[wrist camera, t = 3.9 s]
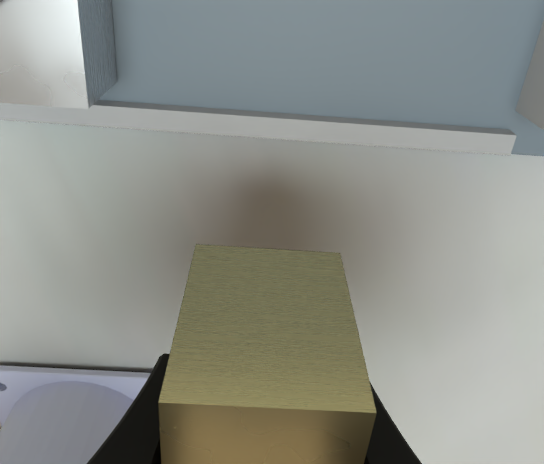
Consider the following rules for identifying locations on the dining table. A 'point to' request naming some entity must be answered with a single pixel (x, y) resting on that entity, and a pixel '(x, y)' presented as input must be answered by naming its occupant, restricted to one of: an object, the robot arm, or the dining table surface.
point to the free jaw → (56, 52)
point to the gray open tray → (326, 73)
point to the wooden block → (265, 363)
